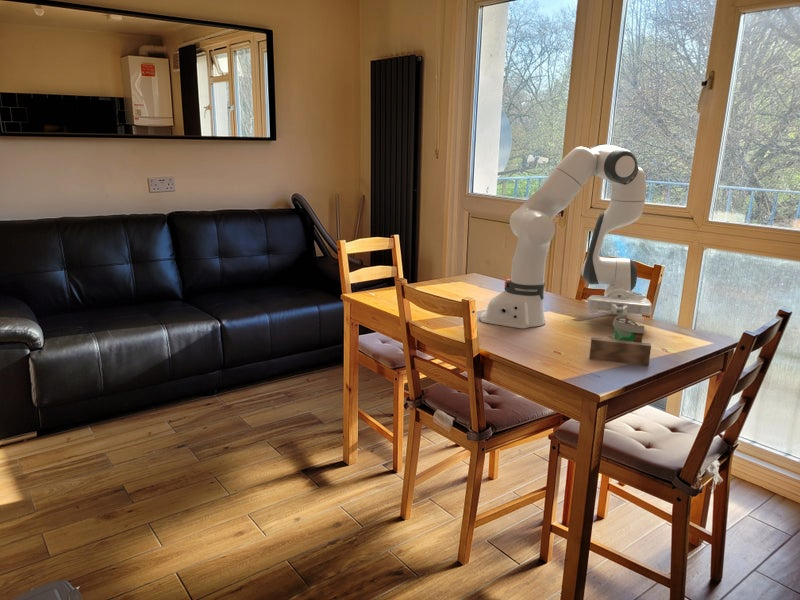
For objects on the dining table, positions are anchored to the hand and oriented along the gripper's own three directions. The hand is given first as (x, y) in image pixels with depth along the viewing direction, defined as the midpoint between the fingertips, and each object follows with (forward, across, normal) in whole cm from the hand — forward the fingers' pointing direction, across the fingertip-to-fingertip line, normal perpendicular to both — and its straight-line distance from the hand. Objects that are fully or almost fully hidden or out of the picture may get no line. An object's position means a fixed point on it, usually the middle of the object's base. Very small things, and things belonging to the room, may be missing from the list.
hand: (619, 311), depth 196 cm
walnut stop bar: (+27, 0, +8) cm, 28 cm away
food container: (+18, +1, +8) cm, 20 cm away
